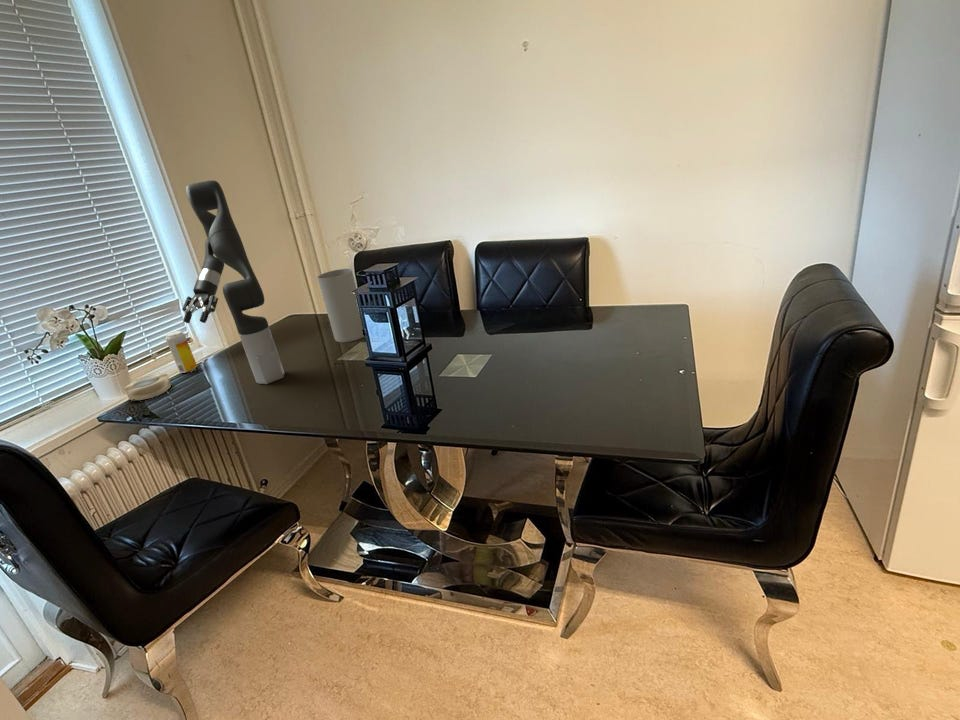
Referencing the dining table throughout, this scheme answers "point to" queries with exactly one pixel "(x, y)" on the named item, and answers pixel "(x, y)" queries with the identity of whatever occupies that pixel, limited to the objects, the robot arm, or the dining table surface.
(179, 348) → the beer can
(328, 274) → the cylinder vase
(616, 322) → the dining table surface
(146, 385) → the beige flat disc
